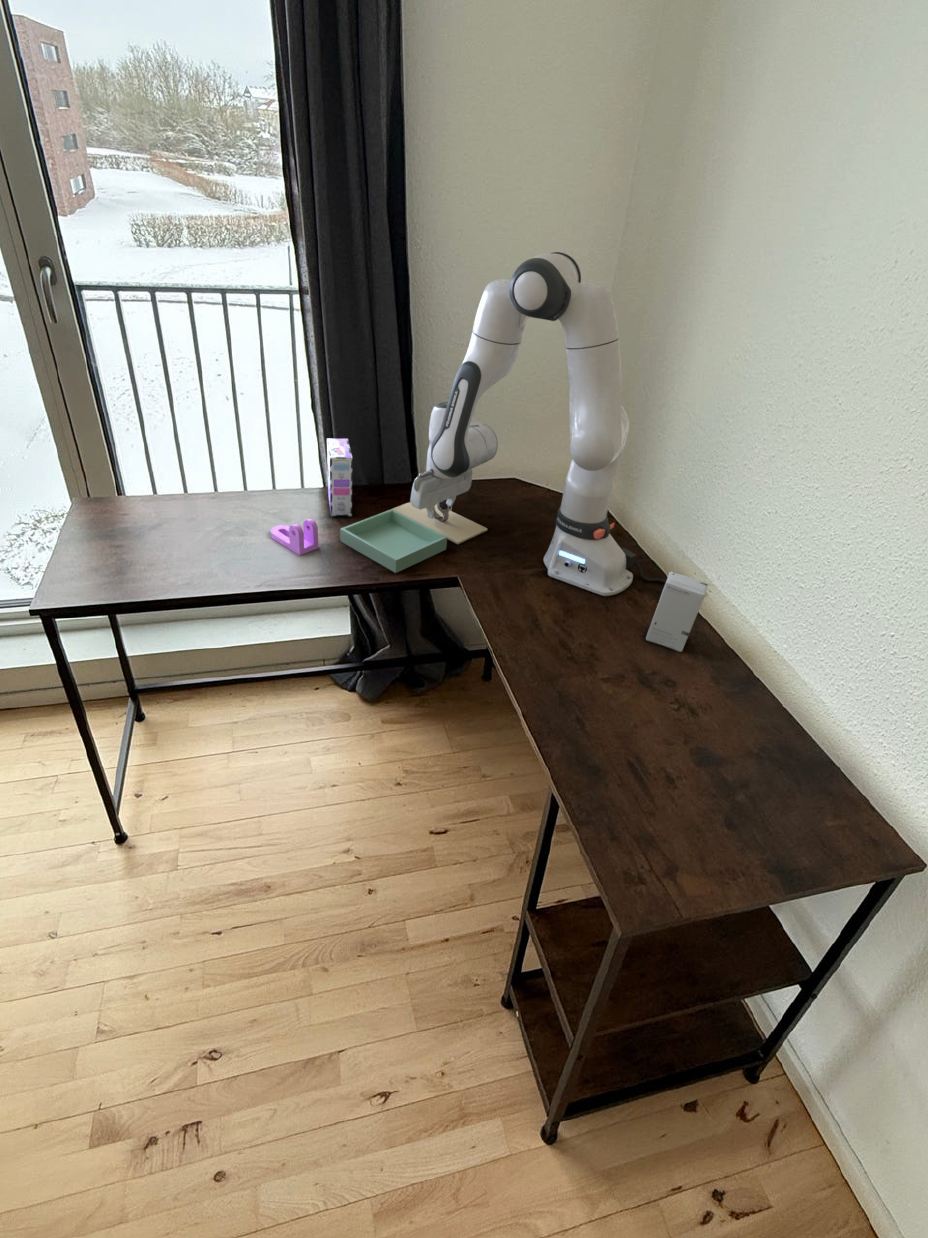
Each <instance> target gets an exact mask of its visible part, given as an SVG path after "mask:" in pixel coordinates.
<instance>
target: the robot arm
mask: <svg viewBox="0 0 928 1238" xmlns="http://www.w3.org/2000/svg"><path fill="white" fill-rule="evenodd" d="M529 318H533V319H539V320H545V321H550V322H556V321H559V322H560V324H561V326H562V330H563V337H564V346H565V347H564V348H565V356H566V366H567V367H566V368H567V374H568V385H569V387H568V389H569V401H568V402H569V403H568V404H569V406H568V407H569V409H568V410H569V413H568V414H569V417H568V419H569V452H570V457H571V461H570V464H569V467H568V472H567V475H566V478H565V482H564V487H563V493H562V498H561V503H560V506H559V507H558V509H557V513H556V518H555V523H554V524H555V529H554V533H553V535H552V538H551V541H550V544H549V546H548V549H547V551H546V552H545V554H544V556H543V559H542V560H543V563H544V565H545V567H546V568H547V576H549V577H550V578H553V579H556V580H559V581H561V582H564V583H567V584H569V585H572V586H575V587H577V588H580V589H582V590H586V591H588V592H592V593H593V594H597V595H599V596H602V597H609V596H614V595H618V594H619V593H622V592H623V591H625V590H626V589H627V588H629V587H630V586H631V584H632V583H633V581H634V580H633V578H634V574H633V573H632V571H629V570H628V569H629V568H632V567H634V566H635V567H636V568H637V572H638V574H639V577H640V578H641V579H642V580H643V581H646V582H649V583H652V582H658V583H662V584H664V585H665V583H666V581H667V579H664V578H659V577H647V576H645V575H644V573H643V569H642V567H641V565H640V564H639V562H638V561H637V556H638V555H637V554H636V553H635V552H633V551H631V550H629V549H627V548H625V547H621V546H620V545H619V544H618V542H617V541H616V540H615V539H614V537H613V536H612V535H611V533H610V532H611V530H612V529H613V528H614V527H615V524H616V522H612V523H611V524H610V523H609V519H608V511H609V507H610V504H611V503H610V502H611V498H612V494H613V492H614V491H613V490H614V487H615V483H616V479H617V476H618V472H619V468H620V466H621V465H620V464H621V461H622V458H623V454H624V450H625V446H626V442H627V439H628V435H629V430H630V420H629V416H628V413H627V411H626V409H625V408H624V406H623V405H622V381H623V373H622V360H621V347H620V333H619V326H618V319H617V313H616V308H615V304H614V300H613V297H612V293H611V291H610V290H609V289H608V288H607V287H606V286H605V285H604V284H601V283H596V282H589V283H588V282H587V283H582V273H581V269H580V266H579V264H578V262H577V261H576V260H575V259H574V257H572V256H570V255H569V254H567V253H565V252H560V251H553V252H546V253H545V252H544V253H540V254H537V255H535V256H533V257H531V258H529V259H526V260H525V261H523V262H522V263H520V265H519V266H517V268H515V271H514V272H513V273H512V276H511V278H510V279H507V278H499V279H495V280H492V281H490V282H489V283H488V284H487V285H486V286H485V287H484V289H483V293H482V295H481V297H480V300H479V303H478V306H477V310H476V313H475V317H474V321H473V324H472V325H473V326H472V330H471V335H470V340H469V344H468V346H467V350H466V353H465V355H464V358H463V361H462V362H461V365H460V367H459V369H458V370H457V373H456V374H455V377H454V380H453V383H452V387H451V391H450V394H449V397H448V401H443V402H440V403H437V404H436V405H434V406H433V408H432V411H431V414H430V419H429V425H428V426H429V427H428V440H429V445H428V448H427V454H426V466H425V471H422V472H420V473H418V474H417V476H416V478H414V480H413V483H412V487H411V492H410V499H409V502H410V503H411V505H412V506H414V507H415V508H417V509H420V510H422V509H424V508H426V509H427V511H428V514H427V516H428V518H430V519H432V518H435V517H436V511H434V510H433V508H434V504H437V503H439V502H442V501H443V502H445V501H446V502H445V503H446V504H447V505H448V507H449V511H452V510H453V505H454V503H455V501H456V499H457V497H458V496H460V495H461V494H464V493H467V492H468V491H470V489H471V487H472V481H473V469H474V468H476V467H479V466H480V465H483V464H486V463H487V462H489V461H490V460H492V459H493V458H495V456H496V454H497V451H498V447H499V444H498V442H499V441H498V438H497V435H496V432H495V431H494V430H493V429H492V427H490V426H489V425H487V424H485V423H483V422H481V421H480V420H478V419H476V418H475V417H474V413H475V409H476V407H477V404H478V402H479V401H480V399H481V397H483V395H484V394H485V393H486V392H487V391H488V390H489V389H490V388H491V387H492V386H494V385H495V384H496V383H498V382H499V381H500V380H501V379H503V378H505V377H506V376H507V375H508V374H509V373H510V372H511V371H512V370H513V369H514V366H515V364H516V362H517V360H518V357H519V354H520V350H521V345H522V341H523V336H524V332H525V327H526V324H527V322H528V320H529Z"/></svg>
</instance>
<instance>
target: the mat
mask: <svg viewBox="0 0 928 1238" xmlns="http://www.w3.org/2000/svg"><path fill="white" fill-rule="evenodd" d="M392 509H393V510H395V511H397V512H399V513H401V514H403V515H405V516H407V517H409V518H411V519H413V520H415V521H417V522H418V523H420V524H422V525H424V526H426V527H428V528H430V529H432V530H434V531H436V532H438V533H440V534H442V535H444V536H446V537H447V541H450V542H452V543H454V544H456V545H460V544H462V543H464V542H466V541H468V540H471V539H472V538H475V537H477V536H479V535H481V534H483V533H486V532H487V531H489V530H488V528H487V527H486V526H483V525H481V524H479V523H477V522H475V521H473V520H471V519H470V518H466V517H465V516H462V515H460V514H458V513H456V512H454V511H452V510H451V511H449V517H448V520H446V521H444V522H440V521H439V520H437V519H435V518H432V519H430V518H428V516H427V514H428V511H427V509H426V508H424V509H422V510H420V509H417V508H415V507H414V506H412V505H411V503H410V501H409V502H406V503H403V504H401V505H398V506H396V507H393V508H392ZM435 511H436V512H437V513H438V514H439V515H440V516H441V517H443V519H444V516H443V514H442V512H441V511H439V510H438V508H437V504H436V505H435Z"/></svg>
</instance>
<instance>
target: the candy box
mask: <svg viewBox="0 0 928 1238" xmlns="http://www.w3.org/2000/svg"><path fill="white" fill-rule="evenodd" d="M352 454H353V453H352V450H351V447H350V441H349V438H332V437H331V438H330V437H329V438H326V460H327V461H326V462H327V463H326V465H327V496H328V504H329V512H330V517H353V455H352Z"/></svg>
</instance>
